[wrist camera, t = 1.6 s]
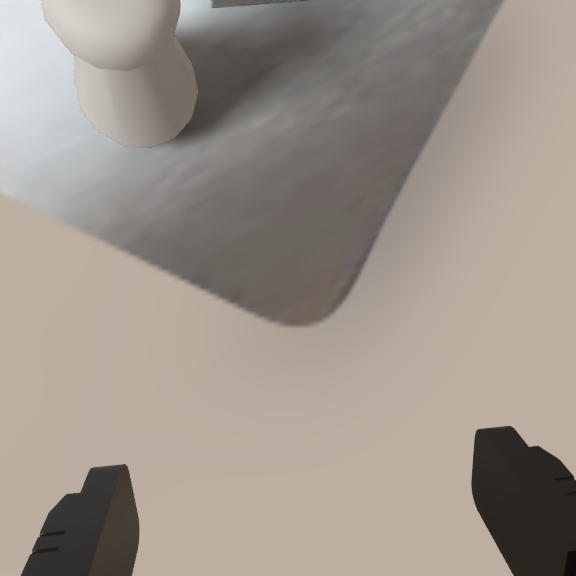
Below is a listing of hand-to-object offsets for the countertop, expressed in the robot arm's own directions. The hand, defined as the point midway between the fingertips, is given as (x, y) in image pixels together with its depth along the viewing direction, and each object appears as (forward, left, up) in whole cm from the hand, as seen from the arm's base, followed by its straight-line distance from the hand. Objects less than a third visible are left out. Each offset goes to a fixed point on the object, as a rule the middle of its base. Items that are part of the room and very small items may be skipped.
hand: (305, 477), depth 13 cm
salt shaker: (-3, +14, -18) cm, 23 cm away
